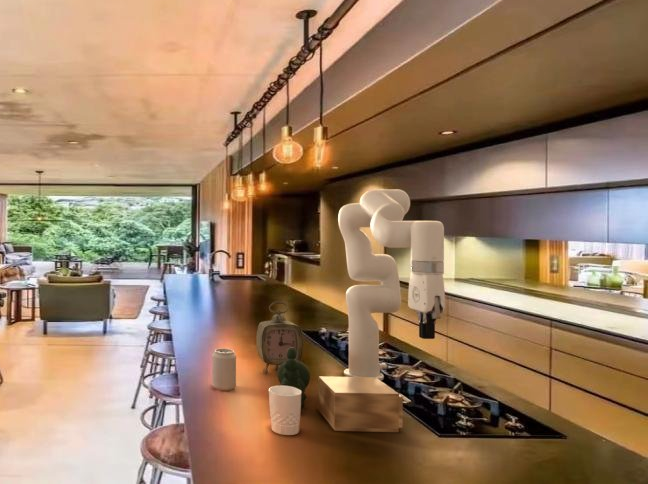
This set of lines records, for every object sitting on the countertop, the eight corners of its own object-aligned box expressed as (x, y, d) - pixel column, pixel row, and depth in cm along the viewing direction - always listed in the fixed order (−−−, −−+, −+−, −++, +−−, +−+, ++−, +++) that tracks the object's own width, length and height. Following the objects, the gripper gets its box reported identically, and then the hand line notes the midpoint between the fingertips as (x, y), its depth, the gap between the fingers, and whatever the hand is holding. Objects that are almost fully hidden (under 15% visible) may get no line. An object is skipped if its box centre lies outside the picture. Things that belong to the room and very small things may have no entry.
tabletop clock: (261, 375, 167) (261, 303, 167) (255, 367, 176) (255, 299, 176) (302, 375, 167) (302, 303, 167) (294, 367, 176) (294, 299, 176)
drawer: (396, 409, 132) (396, 381, 132) (420, 428, 119) (420, 396, 119) (327, 408, 133) (327, 380, 133) (343, 426, 120) (343, 395, 120)
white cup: (301, 426, 123) (301, 387, 123) (301, 438, 115) (301, 397, 115) (270, 422, 125) (270, 384, 125) (267, 434, 118) (267, 393, 118)
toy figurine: (309, 424, 128) (310, 387, 151) (309, 355, 126) (310, 329, 149) (272, 420, 131) (279, 384, 154) (272, 352, 129) (279, 327, 153)
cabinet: (375, 411, 132) (375, 377, 132) (398, 432, 119) (398, 393, 119) (318, 410, 133) (318, 376, 133) (334, 430, 120) (334, 392, 120)
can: (235, 384, 157) (235, 347, 157) (237, 391, 149) (237, 353, 149) (212, 383, 157) (212, 347, 157) (212, 391, 150) (212, 352, 150)
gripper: (398, 266, 133) (398, 332, 133) (427, 270, 118) (427, 344, 118) (426, 266, 132) (426, 332, 132) (458, 270, 117) (458, 345, 117)
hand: (426, 338), depth 125 cm, fingers closed
